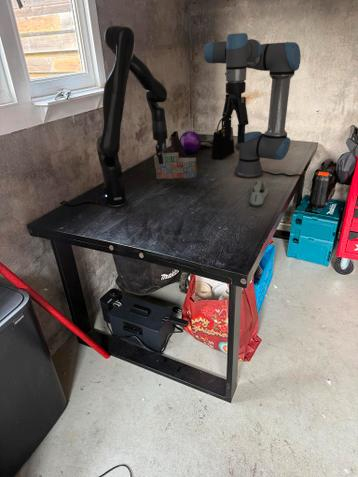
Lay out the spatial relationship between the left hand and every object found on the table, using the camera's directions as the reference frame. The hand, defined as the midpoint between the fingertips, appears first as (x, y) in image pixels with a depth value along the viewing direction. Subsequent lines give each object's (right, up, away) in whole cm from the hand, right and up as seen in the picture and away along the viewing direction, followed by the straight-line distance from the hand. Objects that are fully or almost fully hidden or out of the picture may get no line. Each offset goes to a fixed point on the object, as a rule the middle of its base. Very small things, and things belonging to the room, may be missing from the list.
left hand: (162, 161), depth 175 cm
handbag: (+39, +16, +49) cm, 65 cm away
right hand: (+31, 0, -41) cm, 51 cm away
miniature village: (+65, +26, +65) cm, 96 cm away
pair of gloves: (+32, +32, +78) cm, 90 cm away
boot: (+9, +9, +41) cm, 43 cm away
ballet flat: (+48, -21, -14) cm, 54 cm away
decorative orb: (+17, +20, +59) cm, 64 cm away
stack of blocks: (+8, -7, +3) cm, 11 cm away
